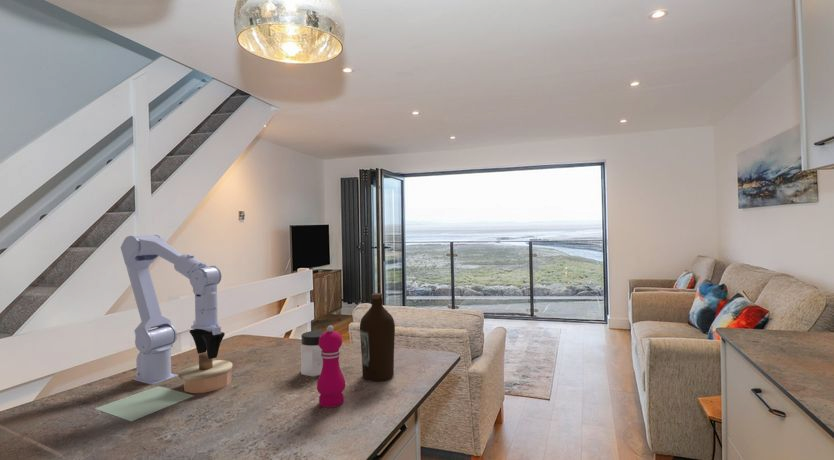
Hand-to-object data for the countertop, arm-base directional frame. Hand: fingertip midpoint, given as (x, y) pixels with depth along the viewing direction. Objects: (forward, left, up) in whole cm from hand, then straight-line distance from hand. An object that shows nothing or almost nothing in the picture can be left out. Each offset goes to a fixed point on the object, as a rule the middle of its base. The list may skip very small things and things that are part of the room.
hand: (207, 355), depth 119 cm
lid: (0, 0, -4) cm, 4 cm away
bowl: (0, 0, -9) cm, 9 cm away
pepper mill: (+40, +6, -9) cm, 41 cm away
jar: (+21, +22, -9) cm, 32 cm away
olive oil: (+41, +27, -9) cm, 50 cm away
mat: (-4, -15, -9) cm, 18 cm away
